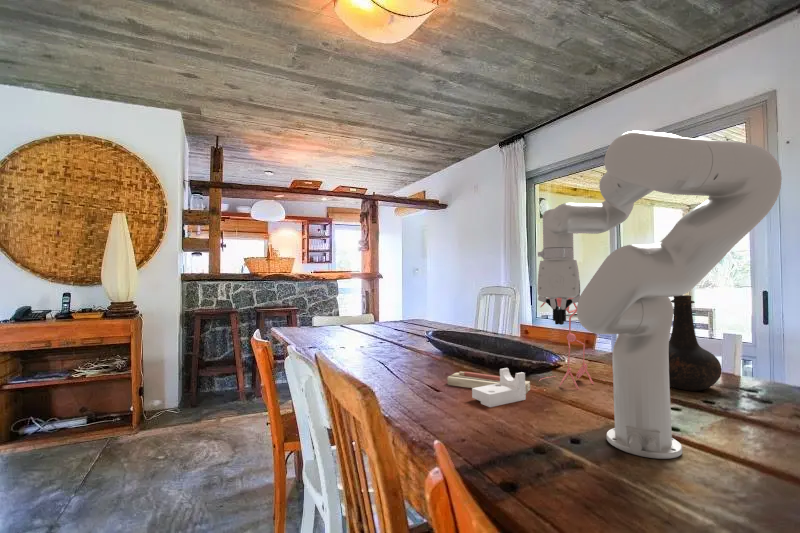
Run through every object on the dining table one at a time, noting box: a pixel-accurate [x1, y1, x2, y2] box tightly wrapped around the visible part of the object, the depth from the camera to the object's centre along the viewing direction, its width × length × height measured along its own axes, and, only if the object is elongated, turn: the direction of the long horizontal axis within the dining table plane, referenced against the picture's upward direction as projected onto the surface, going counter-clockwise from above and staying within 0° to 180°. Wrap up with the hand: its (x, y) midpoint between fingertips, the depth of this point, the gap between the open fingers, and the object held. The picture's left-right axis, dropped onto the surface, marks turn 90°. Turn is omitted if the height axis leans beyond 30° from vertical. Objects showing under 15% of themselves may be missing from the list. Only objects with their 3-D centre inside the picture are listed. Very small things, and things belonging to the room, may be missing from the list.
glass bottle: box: [669, 294, 723, 392], centre depth 117 cm, size 18×18×28 cm
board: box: [447, 372, 531, 394], centre depth 118 cm, size 7×24×2 cm, turn 59°
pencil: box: [458, 371, 500, 381], centre depth 121 cm, size 14×1×1 cm, turn 54°
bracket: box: [471, 367, 527, 408], centre depth 105 cm, size 13×7×8 cm, turn 119°
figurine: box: [537, 298, 606, 390], centre depth 123 cm, size 15×26×35 cm, turn 127°
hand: (559, 323), depth 101 cm, fingers closed
